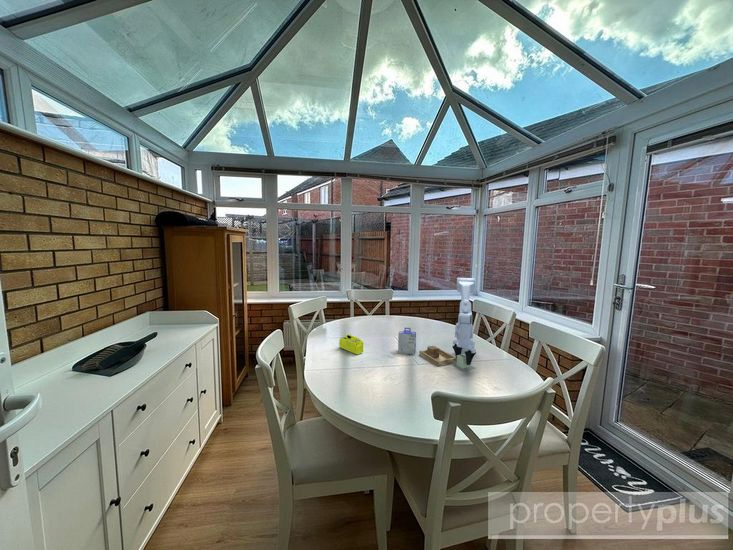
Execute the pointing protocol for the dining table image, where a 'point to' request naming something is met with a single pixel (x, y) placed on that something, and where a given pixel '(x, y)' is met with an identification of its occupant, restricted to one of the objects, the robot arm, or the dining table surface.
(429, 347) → the walnut block
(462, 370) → the rubber pad
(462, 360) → the sage block
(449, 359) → the oak tray
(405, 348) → the ink cartridge box
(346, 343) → the yellow toy chassis
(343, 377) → the dining table surface
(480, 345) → the dining table surface
